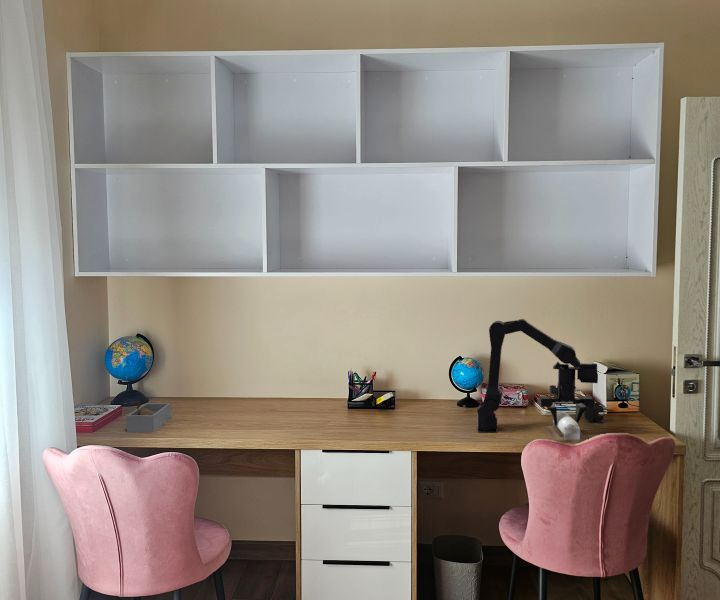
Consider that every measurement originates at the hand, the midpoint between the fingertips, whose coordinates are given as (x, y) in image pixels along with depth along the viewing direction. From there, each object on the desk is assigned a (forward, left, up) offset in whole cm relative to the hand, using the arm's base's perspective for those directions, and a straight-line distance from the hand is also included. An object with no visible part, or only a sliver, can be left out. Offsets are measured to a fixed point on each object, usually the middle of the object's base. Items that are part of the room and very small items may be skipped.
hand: (565, 425), depth 247 cm
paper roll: (0, 0, -2) cm, 2 cm away
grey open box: (-154, +10, -3) cm, 154 cm away
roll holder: (0, 0, -4) cm, 4 cm away
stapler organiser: (-152, +10, -4) cm, 152 cm away
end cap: (+15, +22, -4) cm, 27 cm away
